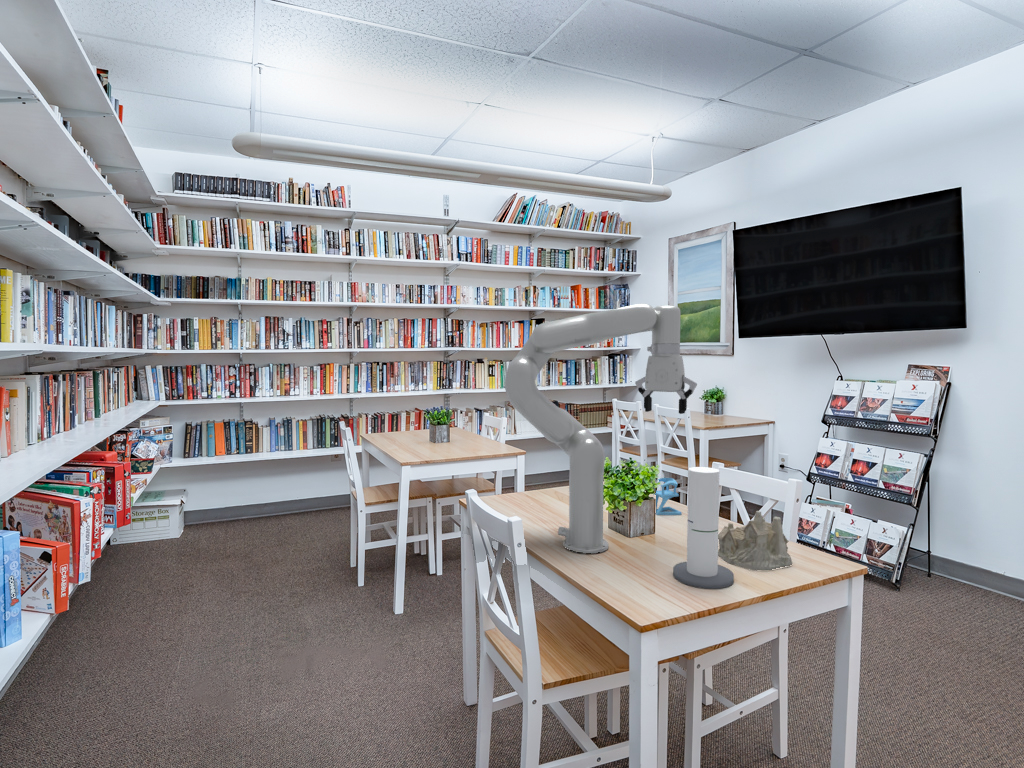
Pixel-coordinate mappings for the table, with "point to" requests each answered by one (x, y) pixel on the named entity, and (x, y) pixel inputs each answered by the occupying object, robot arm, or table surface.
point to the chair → (666, 497)
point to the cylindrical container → (703, 521)
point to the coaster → (714, 582)
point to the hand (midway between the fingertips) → (664, 412)
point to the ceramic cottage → (755, 544)
